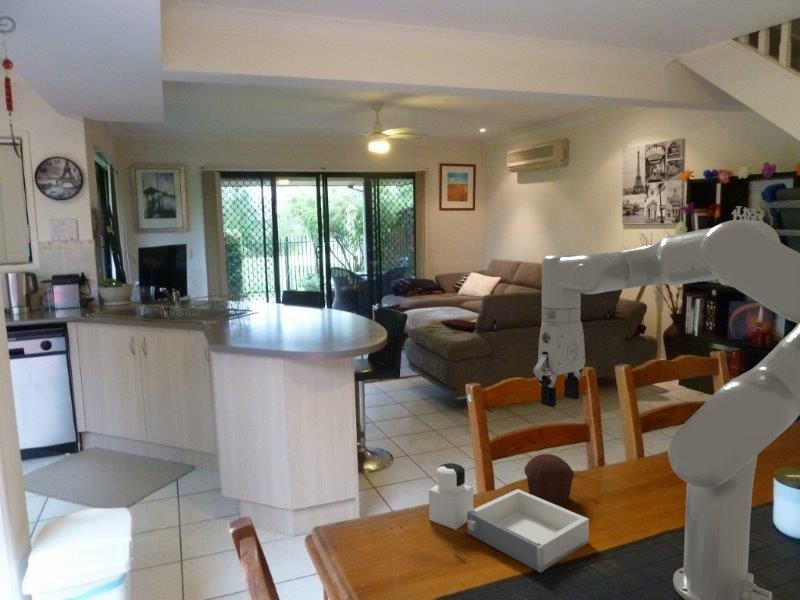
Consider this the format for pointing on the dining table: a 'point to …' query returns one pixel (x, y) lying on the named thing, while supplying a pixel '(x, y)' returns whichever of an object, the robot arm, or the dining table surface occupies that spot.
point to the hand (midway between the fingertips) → (560, 401)
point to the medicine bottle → (450, 497)
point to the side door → (506, 541)
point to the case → (539, 523)
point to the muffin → (549, 478)
